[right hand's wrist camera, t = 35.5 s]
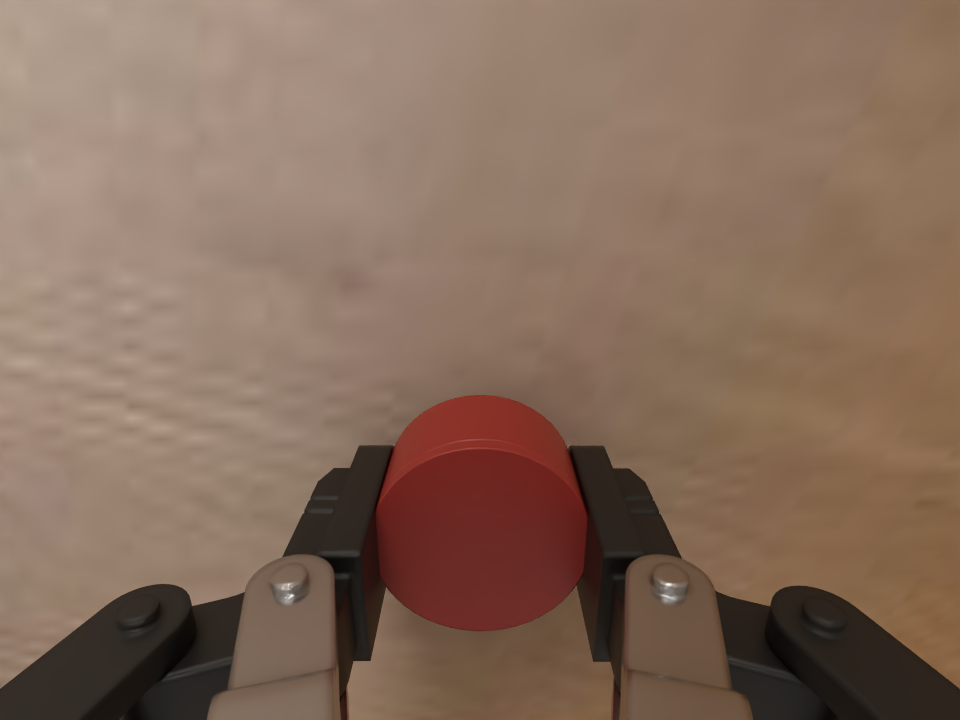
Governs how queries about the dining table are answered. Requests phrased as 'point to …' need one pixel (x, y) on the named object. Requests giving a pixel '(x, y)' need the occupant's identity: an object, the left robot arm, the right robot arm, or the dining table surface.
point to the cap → (481, 516)
